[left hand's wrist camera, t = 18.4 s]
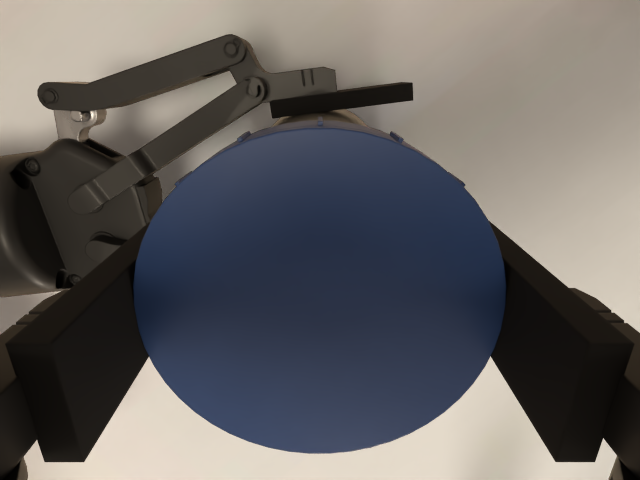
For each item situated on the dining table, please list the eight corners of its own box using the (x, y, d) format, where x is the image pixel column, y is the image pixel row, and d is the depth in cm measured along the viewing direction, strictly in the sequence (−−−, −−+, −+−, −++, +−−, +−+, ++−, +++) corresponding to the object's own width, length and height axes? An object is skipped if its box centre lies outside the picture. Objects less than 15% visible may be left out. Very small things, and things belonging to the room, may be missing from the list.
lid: (488, 387, 13) (511, 428, 11) (211, 429, 14) (197, 474, 12) (471, 85, 10) (500, 86, 8) (107, 159, 10) (70, 173, 9)
